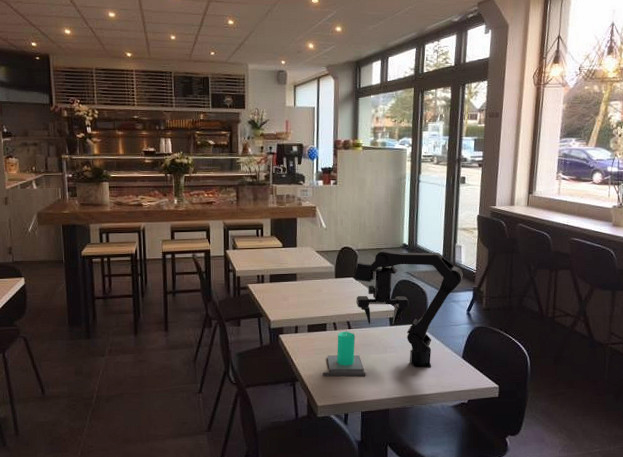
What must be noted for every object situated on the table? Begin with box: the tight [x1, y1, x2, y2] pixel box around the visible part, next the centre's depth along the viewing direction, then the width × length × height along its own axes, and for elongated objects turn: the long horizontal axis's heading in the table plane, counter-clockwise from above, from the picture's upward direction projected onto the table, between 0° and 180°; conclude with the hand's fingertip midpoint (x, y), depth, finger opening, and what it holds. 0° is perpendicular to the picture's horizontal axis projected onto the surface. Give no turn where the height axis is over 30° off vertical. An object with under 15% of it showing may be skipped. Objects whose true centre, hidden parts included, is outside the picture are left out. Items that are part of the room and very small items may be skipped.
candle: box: [337, 330, 356, 365], centre depth 198 cm, size 6×6×12 cm
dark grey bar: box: [322, 371, 366, 377], centre depth 190 cm, size 15×1×1 cm, turn 93°
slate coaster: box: [326, 354, 365, 372], centre depth 199 cm, size 12×12×1 cm
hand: (381, 324), depth 204 cm, fingers open, 9 cm apart
